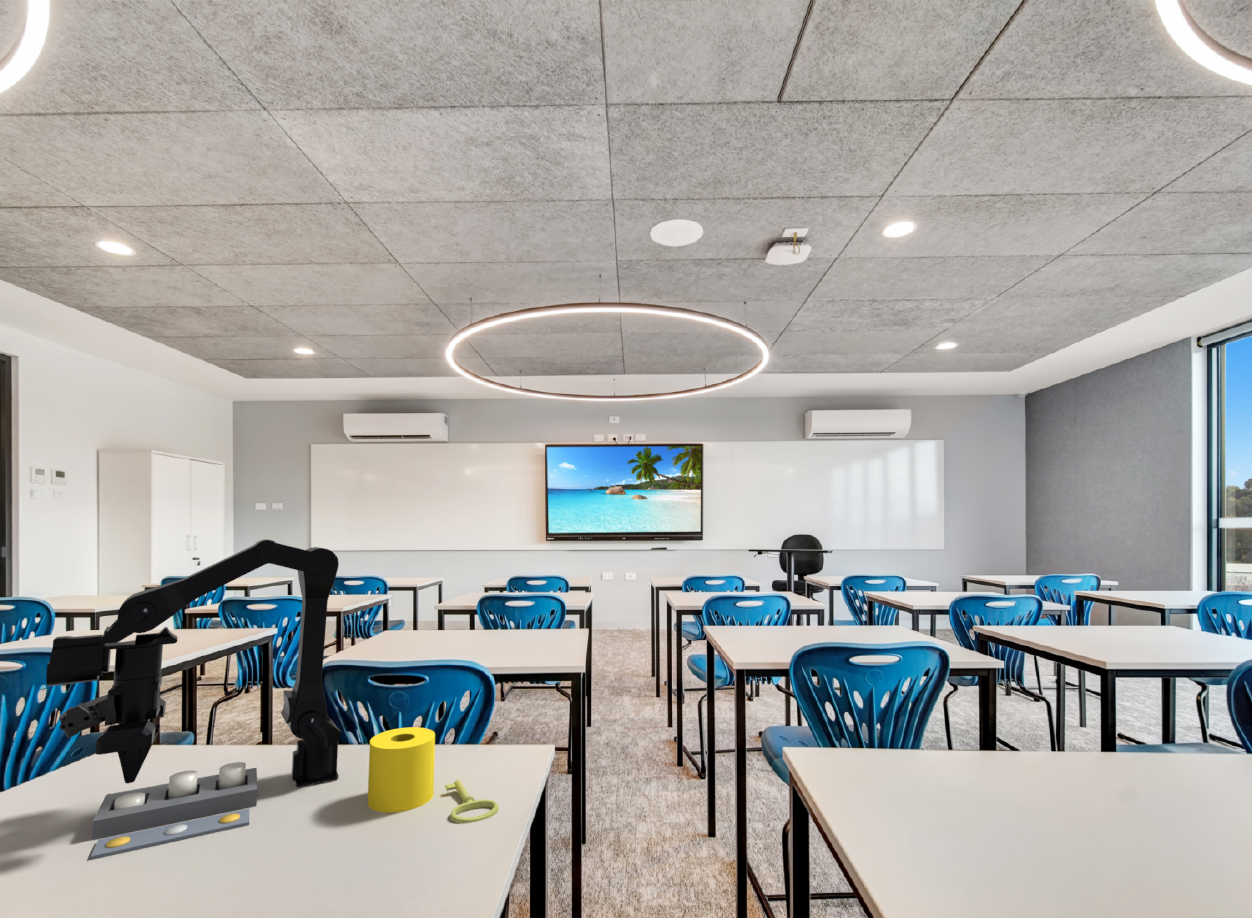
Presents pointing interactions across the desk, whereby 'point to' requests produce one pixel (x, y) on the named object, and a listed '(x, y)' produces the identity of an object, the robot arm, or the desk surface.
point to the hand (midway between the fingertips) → (130, 782)
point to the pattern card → (170, 833)
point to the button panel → (173, 805)
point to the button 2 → (232, 775)
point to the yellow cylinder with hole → (401, 769)
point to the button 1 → (129, 800)
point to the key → (470, 805)
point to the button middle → (182, 784)
